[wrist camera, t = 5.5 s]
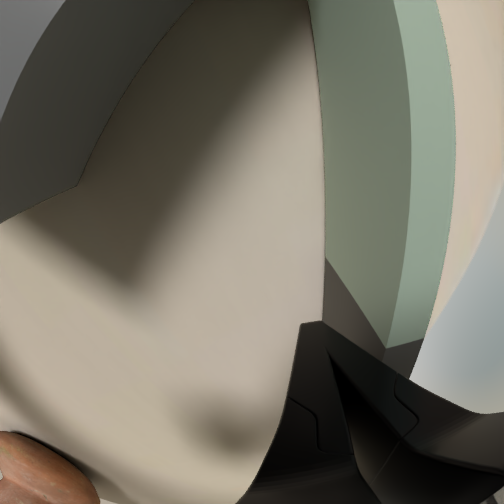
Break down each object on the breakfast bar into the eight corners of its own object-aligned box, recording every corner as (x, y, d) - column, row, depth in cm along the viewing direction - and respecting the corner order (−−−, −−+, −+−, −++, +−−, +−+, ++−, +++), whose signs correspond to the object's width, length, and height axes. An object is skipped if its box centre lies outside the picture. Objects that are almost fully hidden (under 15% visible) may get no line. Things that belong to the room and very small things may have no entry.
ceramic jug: (121, 473, 20) (104, 580, 7) (100, 493, 25) (87, 567, 11) (-21, 387, 16) (-70, 477, 3) (-7, 432, 20) (-36, 499, 7)
